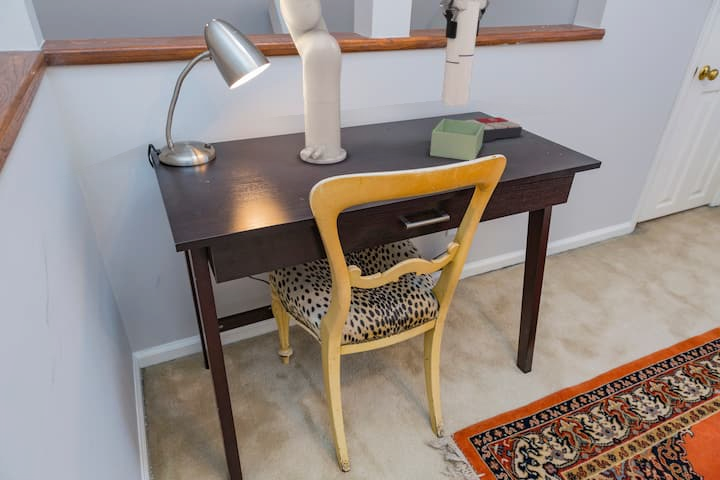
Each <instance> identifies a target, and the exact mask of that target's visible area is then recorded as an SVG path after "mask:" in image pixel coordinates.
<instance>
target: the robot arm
mask: <svg viewBox="0 0 720 480" xmlns="http://www.w3.org/2000/svg"><path fill="white" fill-rule="evenodd" d="M278 1H279V10H280V14H281V16H282V18H283V20H284V24H285V25H286V28H287V30H288V32H289V34H290V37H291V39H292V42H293V43H294V46H295V49H296V50H297V52H298V55H299V57H300V58H301V61H302V62H301V63H302V98H303V112H304V113H303V118H304V119H303V120H304V141H305V142H304V143H305V148H303V149H302V150H301V151H300V152H299V156H300V157H299V158H300V159H301V160H302V161H304V162H307V163H309V164H316V165H328V164H336V163H339V162H343V161H344V160H346V158H347V151H346V150H345V149H344V148H342V146H341V145H342V144H341V143H342V139H341V138H342V137H341V135H342V134H341V133H342V132H341V131H342V130H341V128H342V127H341V75H342V63H343V62H342V61H343V59H342V50H341V46H340V44H339V42H338V41H337V39H336V38H335V37H334V36H333V35H331V34H330V32H329V30H328V26H327V23H326V21H325V19H324V16H323V14H322V11H323V9H322V2H321V0H278ZM451 1H452V3H451ZM453 2H454V5H455V7H452V5H453ZM467 2H480V6H479V16H478V24H477V32H476V38H478V37H479V33H480V22H481V20H482V19H483V16H484V14H485V13H486V10H487V9H488V7H489V5H490V1H489V0H441V1H440V3H439V7H440V9H441V11H442V15H443V16H444V20H445V21H446V26H445V27H446V28H445V38H446V39H448V38H451V39H455V38H456V33H457V21H456V19H457V16H458V14H459V10H466V9H467ZM452 11H454V13H453V14H452Z"/></svg>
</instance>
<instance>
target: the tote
mask: <svg viewBox="0 0 720 480" xmlns="http://www.w3.org/2000/svg"><path fill="white" fill-rule="evenodd" d="M484 126H485V123H479V122H470V121H465V120H461V119H460V120H459V119H449V118H442V120H440V121H439V123H438V124H437V125H436V126H435V127H434V129H433V130H432V131H431V137H430V138H431V140H430V152H429V156H431V157H432V156H433V157H438V158H439V157H440V158H446V159H454V160H462V161H463V160H464V161H468V160H473V159H475V160H476V158H477V156H478V154H479V152H480V151H481V148H482V146H483V142H482V141H483V134H484Z"/></svg>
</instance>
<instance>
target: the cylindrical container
mask: <svg viewBox="0 0 720 480" xmlns="http://www.w3.org/2000/svg"><path fill="white" fill-rule="evenodd" d="M451 3H452V1H451ZM479 6H480V2H467V9H466V10H459V14H458V16H457V19H456V21H457V33H456V38H455V39H451V38H447V39H446V40H447V42H446V52H445V61H444V72H443V81H442V82H443V83H442V91H441V92H442V94H441V103H442V104H443V105H446V106H447V105H448V106H453V107H455V106H456V107H458V106H460V107H461V106H466V105H468V104H469V97H470V88H471V82H472V72H473V64H474V56H475V55H474V54H475V48H476V47H475V46H476V39H477V37H476V32H477V24H478V16H479ZM452 7H455V5H454V2H453V5H452ZM453 13H454V11H452V14H453Z"/></svg>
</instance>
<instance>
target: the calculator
mask: <svg viewBox="0 0 720 480" xmlns="http://www.w3.org/2000/svg"><path fill="white" fill-rule="evenodd" d="M464 121H470V122H479V123H485V126H484V134H483V141H482V143H486V142H492V141H494V140H498V139H508V138H517V137H521V135H522V131H523V126H521V124H518V123H516V122H513V121H509V120H508V119H506V118H502V117H499V116H498V117H485V118H484V117H483V118H475V119H465V120H464Z"/></svg>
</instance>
